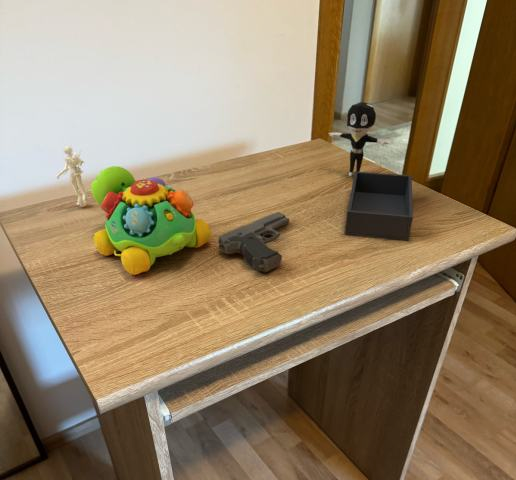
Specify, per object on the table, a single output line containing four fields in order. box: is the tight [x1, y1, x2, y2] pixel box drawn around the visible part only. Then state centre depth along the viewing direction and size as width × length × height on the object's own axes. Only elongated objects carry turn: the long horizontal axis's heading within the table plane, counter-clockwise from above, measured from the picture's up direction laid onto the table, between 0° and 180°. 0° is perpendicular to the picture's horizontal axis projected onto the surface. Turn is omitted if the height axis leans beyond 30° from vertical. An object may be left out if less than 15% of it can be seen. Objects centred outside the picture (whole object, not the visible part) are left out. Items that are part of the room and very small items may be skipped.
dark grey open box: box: [344, 170, 414, 241], centre depth 92 cm, size 11×18×4 cm, turn 167°
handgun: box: [218, 211, 290, 273], centre depth 84 cm, size 3×16×12 cm
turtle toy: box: [90, 165, 212, 276], centre depth 83 cm, size 17×23×12 cm
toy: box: [327, 101, 391, 177], centre depth 103 cm, size 13×6×15 cm, turn 62°
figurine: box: [55, 145, 89, 208], centre depth 94 cm, size 5×6×12 cm
